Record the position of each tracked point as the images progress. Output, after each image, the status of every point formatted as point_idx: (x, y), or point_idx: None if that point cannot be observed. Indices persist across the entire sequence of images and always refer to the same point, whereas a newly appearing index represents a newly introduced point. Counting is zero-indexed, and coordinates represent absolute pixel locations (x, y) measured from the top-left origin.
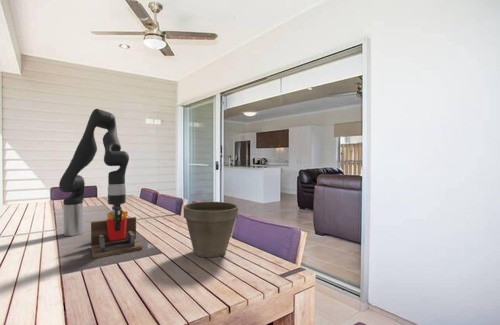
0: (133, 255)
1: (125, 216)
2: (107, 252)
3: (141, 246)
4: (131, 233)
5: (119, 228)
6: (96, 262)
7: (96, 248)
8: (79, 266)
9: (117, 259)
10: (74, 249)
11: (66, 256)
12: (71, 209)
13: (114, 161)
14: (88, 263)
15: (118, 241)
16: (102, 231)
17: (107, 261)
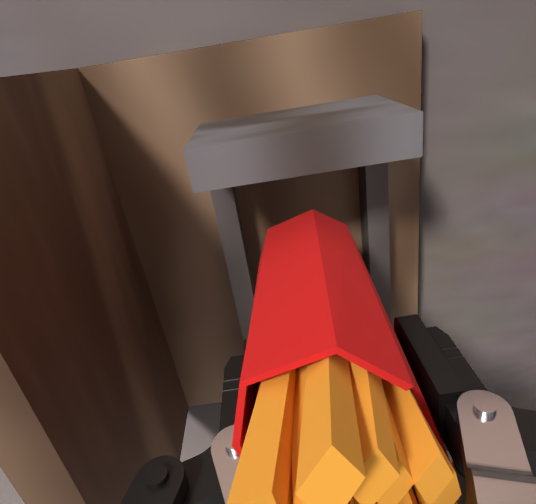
0: (524, 105)
1: (371, 396)
2: (417, 302)
3: (416, 18)
4: (324, 151)
5: (449, 342)
6: (499, 335)
7: None
8: (505, 399)
9: (533, 223)
10: None
11: None
12: None
13: None
14: (487, 369)
15: (241, 251)
16: (146, 436)
17: (527, 280)
